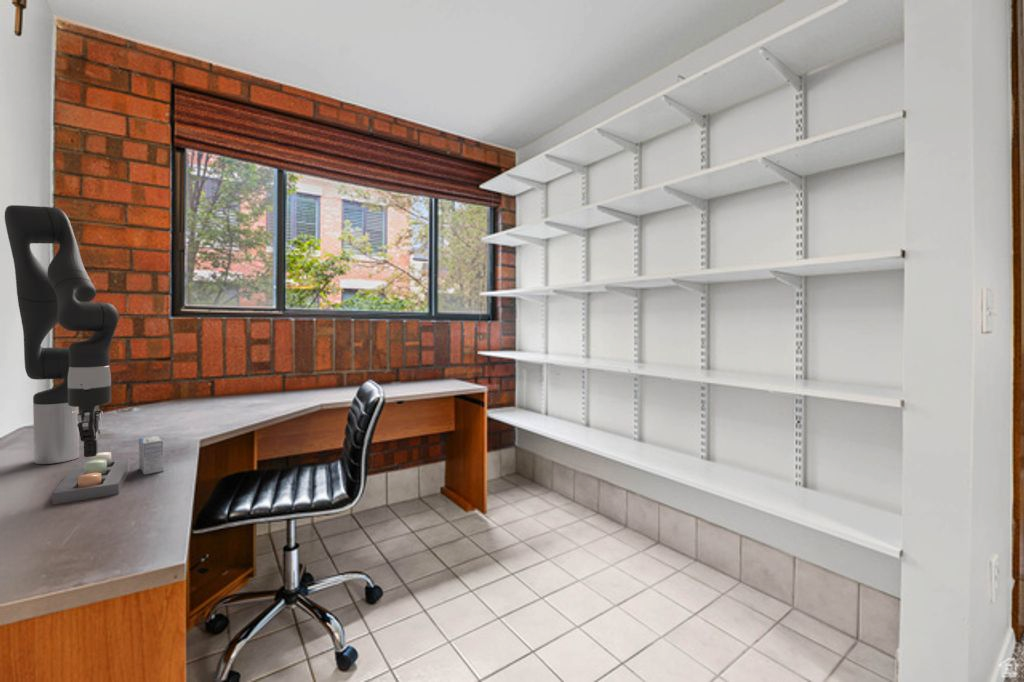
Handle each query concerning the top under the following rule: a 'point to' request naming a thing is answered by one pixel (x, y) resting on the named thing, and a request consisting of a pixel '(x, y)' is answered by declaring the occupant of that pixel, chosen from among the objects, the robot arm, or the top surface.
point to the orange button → (89, 480)
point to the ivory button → (103, 457)
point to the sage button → (96, 466)
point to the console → (109, 485)
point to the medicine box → (151, 455)
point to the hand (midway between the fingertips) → (90, 455)
